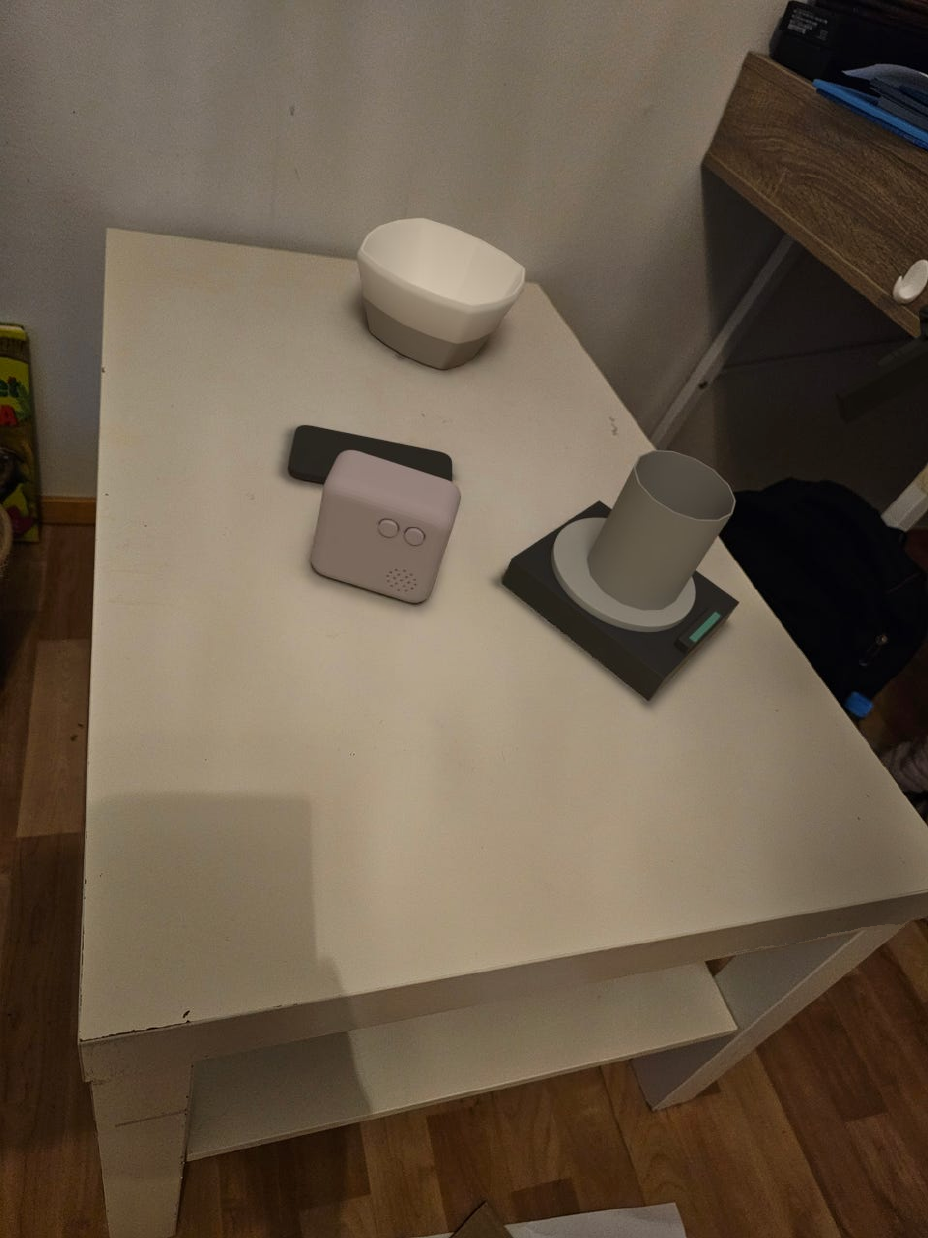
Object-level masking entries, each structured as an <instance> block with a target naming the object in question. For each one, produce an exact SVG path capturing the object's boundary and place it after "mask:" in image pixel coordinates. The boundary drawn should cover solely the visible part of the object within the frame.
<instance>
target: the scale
mask: <svg viewBox="0 0 928 1238" xmlns="http://www.w3.org/2000/svg"><path fill="white" fill-rule="evenodd" d="M611 510H612V508H611V507H609V505H607V504H606V503H604V502H603V501H602V500H600V499H599V500H597V501H596V502H594V503H592V504H590V506H588V507H587V508H585V509H584V510H582V511H581V512H579V513H578V514H576V515H574V516H573V517H572V518H570V519H569V520H567V521H566V522H564V523H562V524H561V525H560V526H558V527H556V528H555V529H554V530H552V531H550V532H549V533H548V534H546V535H545V536H543V537H542V538H540V539H539V540H537V541H535V542H534V543H533V544H531V545H529V546H528V547H527V548H526V549H524V550H522V551H520V552H519V553H518V554H516V555H515V556H513V557H512V558H511V559H510V561H509V563H508V566H507V569H506V571H505V573H504V576H503V577H502V580H501V584H502V585H504V586H505V587H506V588H507V589H509V591H511V592H512V593H513V594H515V595H516V596H518V597H519V598H520V599H521V600H522V601H524V602H525V603H526V604H527V605H529V606H530V607H531V608H532V609H533V610H535V611H536V612H537V613H538V614H540V615H541V616H543V617H544V618H545V619H546V620H547V621H549V623H551V624H552V625H554V626H555V627H556V628H557V629H559V630H560V631H561V632H562V633H564V634H565V635H566V636H567V637H569V638H570V639H571V640H572V641H573V642H575V643H576V644H577V645H578V646H580V648H582V649H583V650H585V651H586V652H587V653H589V654H590V655H591V656H592V657H593V658H594V659H596V660H597V661H598V662H600V663H601V664H602V665H603V666H604V667H606V668H607V669H608V670H610V671H611V672H612V673H613V674H615V675H616V676H617V677H619V679H621V680H622V681H623V682H625V683H626V684H627V685H629V687H631V688H632V689H633V690H635V691H636V692H637V693H639V694H640V695H641V696H642V697H643V698H645V699H646V700H647V701H648V702H650V701H651V700H652V699H653V698H654V697H655V696H656V695H657V693H659V691H661V689H662V688H664V687H665V685H666V684H667V683H668V682H669V681H670V680H671V679H672V678H673V677H674V676H675V675H676V674H677V673H678V672H679V671H680V670H681V669H682V668H683V667H684V666H685V665H686V664H687V663H688V661H690V660H691V658H692V657H694V656H695V655H696V653H697V652H698V651H699V650H700V649H701V648H702V647H703V646H704V645H705V644H706V643H707V642H708V641H709V640H710V639H711V638H712V637H713V636H714V635H715V634H716V633H717V631H718V630H719V629H720V628H722V626H723V625H725V623H726V621H727V620H728V619H729V618H730V616H731V615H732V614H733V612H734V610H735V609H736V608H737V606H739V604H740V601H739V600H737V599H736V598H734V597H733V596H732V595H731V594H729V593H728V592H727V591H726V590H724V589H722V587H720V586H718V585H717V584H715V583H714V582H713V581H711V580H710V579H709V578H708V577H706V576H704V575H703V574H702V573H700V572H699V571H698V570H697V569H696V570H695V572H694V573H693V575H692V576H691V578H690V579H689V581H688V583H687V584H686V586H685V587H684V589H683V590H682V592H681V593H680V595H679V596H678V598H677V599H676V601H675V602H674V603H672V604H671V605H669V606H667V607H666V608H664V609H662V610H640V609H636V608H633V607H630V606H627V605H624V604H621V603H619V602H618V601H617V600H615V599H614V598H612V597H611V596H609V595H608V594H606V593H605V592H603V591H602V590H601V588H600V587H599V586H598V585H597V583H596V582H595V581H594V579H593V578H592V577H591V576H590V572H589V568H588V563H587V558H588V556H589V554H590V551H591V549H592V547H593V545H594V543H595V541H596V539H597V537H598V535H599V533H600V532H601V530H602V528H603V526H604V524H605V522H606V520H607V518H608V516H609V514H610V512H611Z"/></svg>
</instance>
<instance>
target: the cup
mask: <svg viewBox="0 0 928 1238" xmlns="http://www.w3.org/2000/svg"><path fill="white" fill-rule="evenodd" d="M736 502H737V500H736V497H735V495H734V493H733V491H732V489H731V486H730V485H729V484H728V482H727V481H726V480H724V478H723V477H722V476H720V474H719V473H718V472H717V471H716V470H715V469H713V468H712V467H710V466H708V465H706V464H704V463H703V462H702V461H700V460H698V459H697V458H695V457H693V456H689V455H686V454H683V453H680V452H677V451H673V450H660V449H659V450H657V449H652V450H650V451H648V452H645V453H642V454H639V455H638V457H637V459H636V461H635V462H634V465H633V467H632V469H631V470H630V473H629V474H628V476H627V478H626V481H625V482H624V484H623V486H622V489H621V490H620V492H619V494H618V496H617V498H616V501H615V502H614V504H613V506H612V508H611V509H612V510H611V512H610V514H609V516H608V518H607V520H606V522H605V524H604V526H603V528H602V530H601V532H600V533H599V535H598V537H597V539H596V541H595V543H594V545H593V547H592V549H591V551H590V554H589V556H588V558H587V563H588V568H589V572H590V576H591V577H592V578H593V579H594V581H595V582H596V583H597V585H598V586H599V587H600V588H601V590H602V591H603V592H605V593H606V594H608V595H609V596H611V597H612V598H614V599H615V600H617V601H618V602H619V603H621V604H624V605H627V606H630V607H633V608H636V609H640V610H662V609H664V608H666V607H667V606H669V605H671V604H672V603H674V602H675V601H676V599H677V598H678V596H679V595H680V593H681V592H682V590H683V589H684V587H685V586H686V584H687V583H688V581H689V579H690V578H691V576H692V575H693V573H694V572H695V570H696V571H697V569H698V567H699V565H701V562H703V560H704V558H705V556H706V555H707V553H708V552H709V550H710V549H711V548H712V546H713V544H714V543H715V541H716V539H717V538H718V537H719V535H720V534H721V532H722V530H723V529H724V527H725V526H726V525H727V523H728V521H729V519H730V518H731V516H732V515H733V512H734V509H735V506H736Z"/></svg>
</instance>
